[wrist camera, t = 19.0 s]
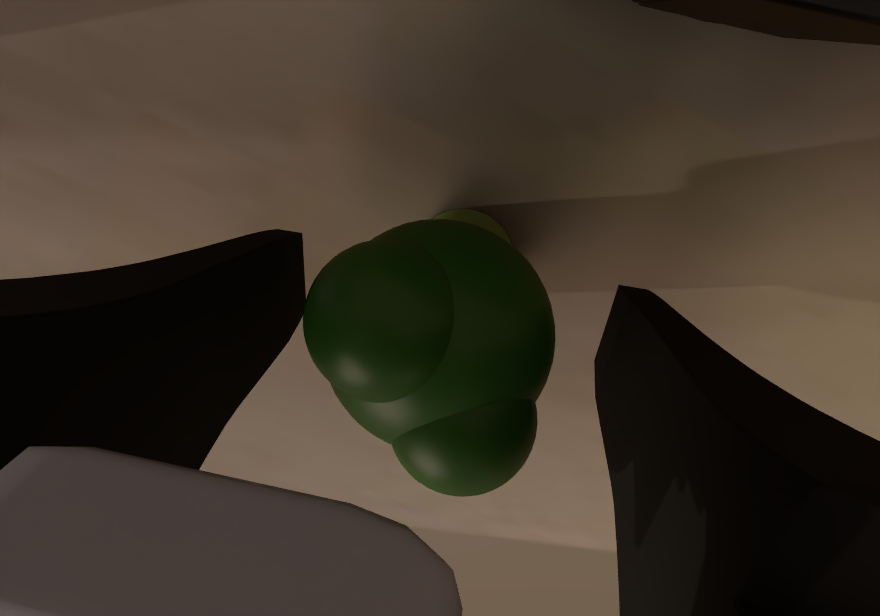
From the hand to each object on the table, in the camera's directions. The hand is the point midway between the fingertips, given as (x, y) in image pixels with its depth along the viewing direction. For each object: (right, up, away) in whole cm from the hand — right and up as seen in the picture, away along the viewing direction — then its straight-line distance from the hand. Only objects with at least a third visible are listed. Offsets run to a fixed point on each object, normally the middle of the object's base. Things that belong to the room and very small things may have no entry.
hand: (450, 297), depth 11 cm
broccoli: (0, +1, +2) cm, 2 cm away
